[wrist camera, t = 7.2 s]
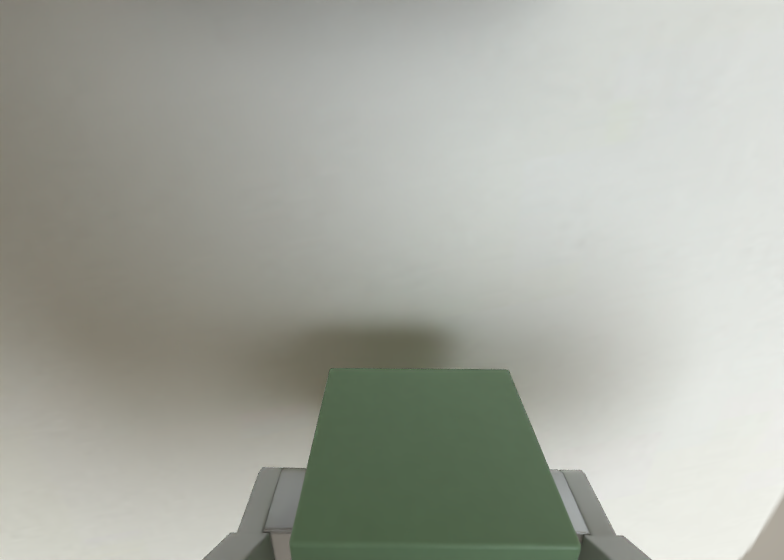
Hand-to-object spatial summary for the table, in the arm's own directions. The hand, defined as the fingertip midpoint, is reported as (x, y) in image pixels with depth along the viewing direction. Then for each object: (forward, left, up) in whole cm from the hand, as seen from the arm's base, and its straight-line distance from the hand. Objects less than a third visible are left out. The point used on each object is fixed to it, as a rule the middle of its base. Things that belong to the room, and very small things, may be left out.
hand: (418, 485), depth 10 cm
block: (0, 0, -2) cm, 2 cm away
